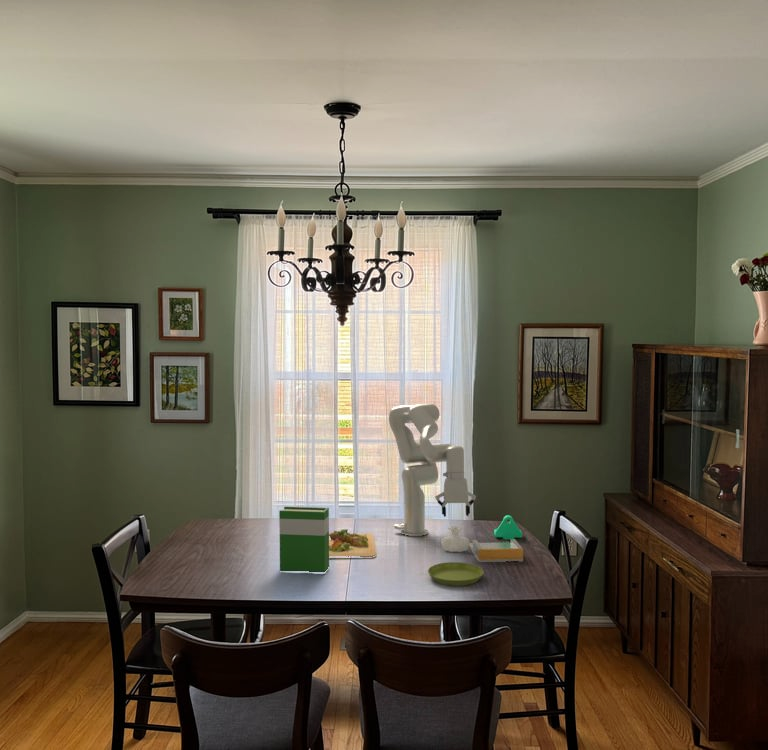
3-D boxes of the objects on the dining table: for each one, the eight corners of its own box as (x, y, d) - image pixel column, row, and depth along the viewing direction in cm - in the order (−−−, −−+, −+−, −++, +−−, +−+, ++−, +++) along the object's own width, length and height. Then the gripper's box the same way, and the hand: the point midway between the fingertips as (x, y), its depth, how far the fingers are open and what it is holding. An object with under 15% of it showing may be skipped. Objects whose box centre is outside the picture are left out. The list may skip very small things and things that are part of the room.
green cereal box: (279, 572, 265) (279, 510, 264) (285, 566, 273) (284, 506, 272) (324, 574, 263) (324, 512, 262) (329, 568, 270) (328, 507, 269)
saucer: (448, 566, 272) (448, 558, 272) (494, 577, 259) (494, 569, 259) (416, 580, 256) (416, 571, 256) (463, 592, 243) (463, 583, 243)
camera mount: (520, 535, 318) (520, 513, 318) (522, 539, 310) (522, 517, 310) (494, 534, 319) (494, 512, 319) (495, 539, 311) (495, 516, 311)
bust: (469, 555, 294) (468, 530, 300) (470, 548, 288) (469, 523, 294) (441, 555, 295) (440, 530, 301) (441, 548, 288) (441, 523, 295)
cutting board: (376, 559, 283) (376, 541, 283) (319, 560, 282) (319, 542, 282) (373, 536, 318) (373, 520, 318) (322, 537, 317) (322, 521, 317)
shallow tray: (478, 562, 277) (478, 549, 277) (468, 545, 301) (468, 533, 301) (523, 561, 278) (523, 549, 278) (509, 544, 302) (509, 533, 302)
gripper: (436, 477, 289) (436, 518, 289) (477, 476, 289) (477, 517, 290) (434, 474, 296) (434, 514, 296) (474, 473, 297) (474, 513, 297)
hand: (455, 515), depth 293 cm, fingers open, 9 cm apart
